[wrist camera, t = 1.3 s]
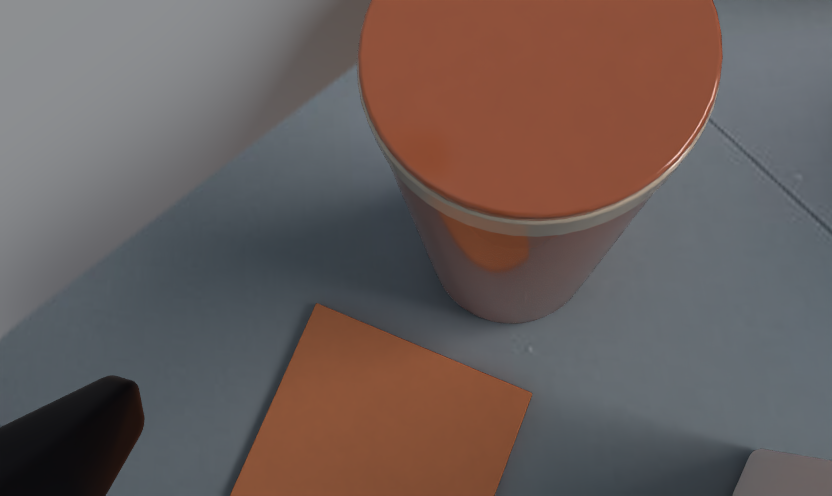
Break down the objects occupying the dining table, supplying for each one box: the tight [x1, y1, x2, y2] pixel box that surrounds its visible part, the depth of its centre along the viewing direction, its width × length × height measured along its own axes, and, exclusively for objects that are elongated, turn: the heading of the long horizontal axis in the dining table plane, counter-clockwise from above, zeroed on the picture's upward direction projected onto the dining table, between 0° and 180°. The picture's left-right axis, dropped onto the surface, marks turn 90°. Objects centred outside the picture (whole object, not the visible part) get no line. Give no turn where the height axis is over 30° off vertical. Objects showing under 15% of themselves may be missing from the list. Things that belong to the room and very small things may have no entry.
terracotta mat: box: [230, 303, 532, 496], centre depth 21 cm, size 8×8×1 cm
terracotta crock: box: [357, 0, 723, 324], centre depth 16 cm, size 6×6×13 cm
